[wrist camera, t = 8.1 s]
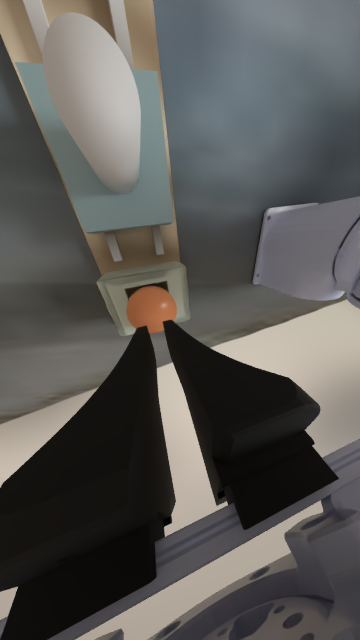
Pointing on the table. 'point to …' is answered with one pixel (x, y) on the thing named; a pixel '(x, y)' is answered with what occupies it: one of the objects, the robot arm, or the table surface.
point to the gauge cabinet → (118, 281)
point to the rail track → (141, 54)
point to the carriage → (101, 126)
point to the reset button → (151, 307)
